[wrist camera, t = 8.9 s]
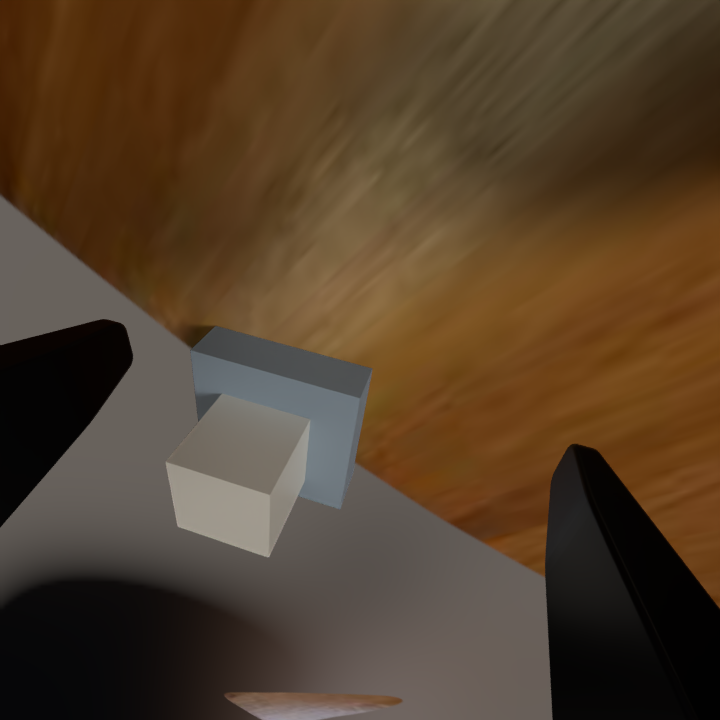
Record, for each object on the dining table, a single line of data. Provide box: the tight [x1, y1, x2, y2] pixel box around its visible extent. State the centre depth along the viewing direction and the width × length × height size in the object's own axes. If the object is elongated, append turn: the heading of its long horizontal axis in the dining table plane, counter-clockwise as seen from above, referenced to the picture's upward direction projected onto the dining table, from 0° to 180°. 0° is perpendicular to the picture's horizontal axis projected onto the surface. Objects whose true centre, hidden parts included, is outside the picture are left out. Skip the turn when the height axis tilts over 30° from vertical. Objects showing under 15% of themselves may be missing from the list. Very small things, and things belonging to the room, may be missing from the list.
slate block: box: [190, 326, 372, 509], centre depth 26 cm, size 9×9×3 cm
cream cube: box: [166, 394, 310, 558], centre depth 23 cm, size 5×5×5 cm
